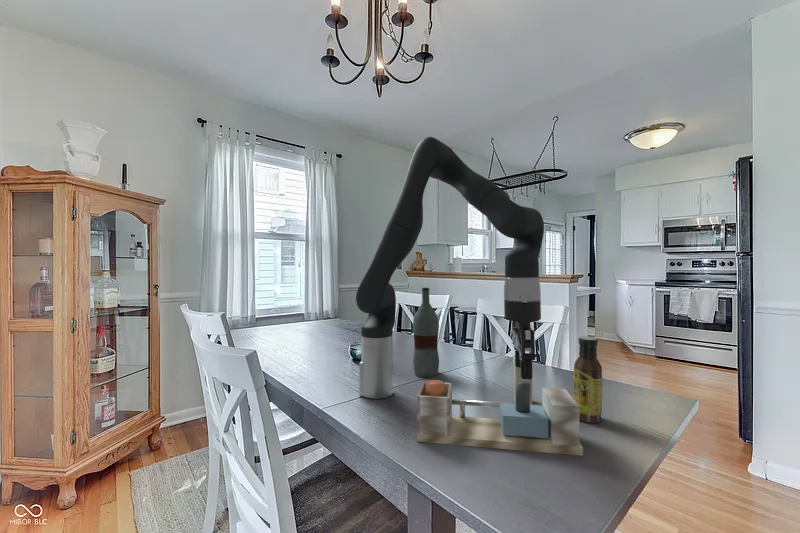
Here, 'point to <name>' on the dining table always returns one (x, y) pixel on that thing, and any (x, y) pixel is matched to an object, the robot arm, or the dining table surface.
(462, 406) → the handrail
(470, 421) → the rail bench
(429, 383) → the button
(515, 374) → the skincare box
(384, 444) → the dining table surface
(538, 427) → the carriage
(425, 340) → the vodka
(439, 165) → the robot arm
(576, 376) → the sauce bottle
